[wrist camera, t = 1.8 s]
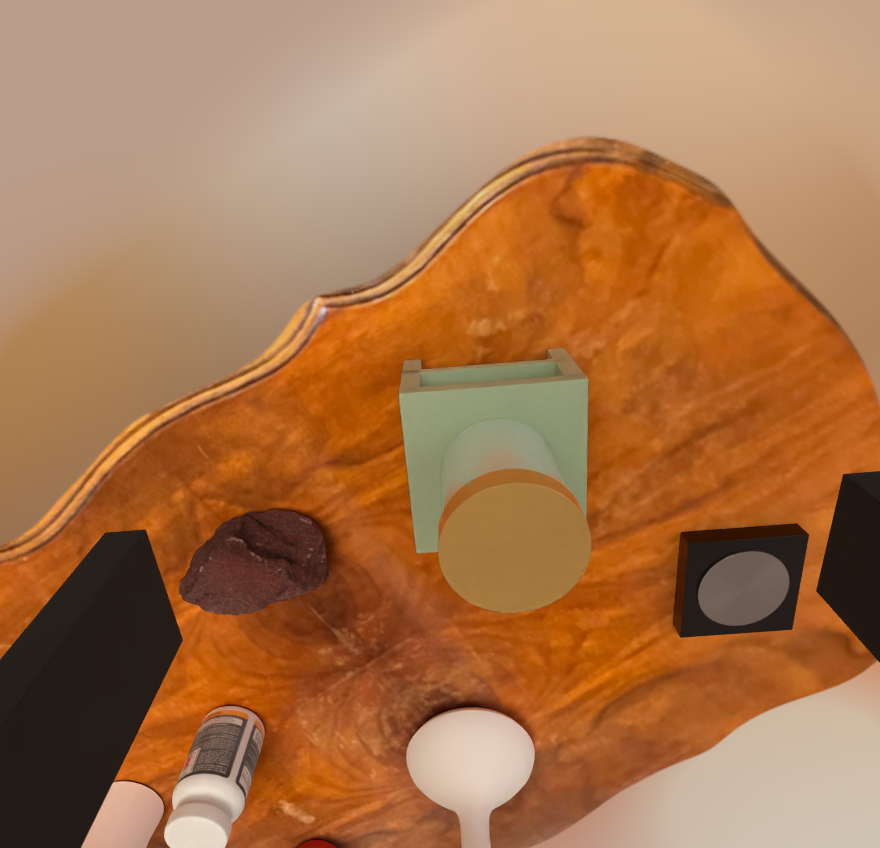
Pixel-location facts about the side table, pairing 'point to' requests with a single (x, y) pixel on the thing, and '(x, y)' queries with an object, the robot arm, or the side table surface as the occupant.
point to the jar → (508, 520)
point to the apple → (317, 844)
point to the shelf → (485, 398)
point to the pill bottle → (215, 779)
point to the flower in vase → (471, 765)
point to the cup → (126, 817)
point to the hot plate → (739, 580)
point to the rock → (256, 563)
